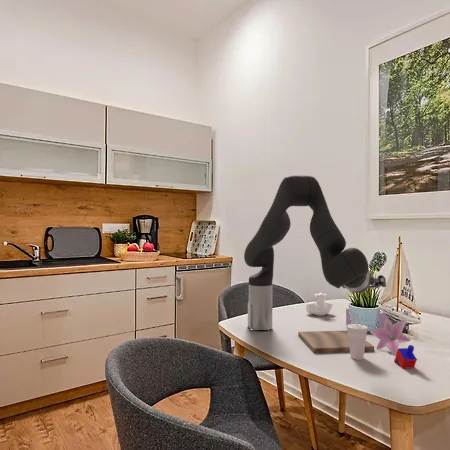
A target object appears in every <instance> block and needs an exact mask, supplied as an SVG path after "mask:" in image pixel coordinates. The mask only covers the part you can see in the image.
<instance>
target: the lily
mask: <svg viewBox="0 0 450 450" xmlns="http://www.w3.org/2000/svg"><path fill="white" fill-rule="evenodd" d="M406 322H407V320H406V319H405V320H404V319H402V320H400V322H397V323H395V324H394V325H392V324H391V323H390V322H389V320H387V319H386V320H385V323H384V328H376V329H372V330H370V331H369V332H370V333H371V334H372V336H374V337H375V338H377V339H379V342H378V344H377V347H376V350H377V351H379V350H381V349H384V348H386V347H387V349H388V350H389V352H390V353H391V354H392V355H393V356H395V357H396V354H397V351H398V348H399V344H400V343H401V344H402V343H408V342H411V339H410V338H409V337H408V336H406V335H404V334H403V330H404V328H405V325H406Z"/></svg>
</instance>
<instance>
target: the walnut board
mask: <svg viewBox="0 0 450 450" xmlns="http://www.w3.org/2000/svg"><path fill="white" fill-rule="evenodd" d="M297 336H298V337H299V338H300V339H301V341H302V342H303V341H304V342H305V343H306V344H305V345H306V346H307V347H308V348H309V349H310V351H312V353H313V354H321V353H322V354H323V353H326V354H328V353H329V354H330V353H350V347H349V338H348V330H347V329H346V330H320V331H314V330H313V331H298V333H297ZM304 342H303V343H304ZM364 352H375V346H374V345H373V344H371V343H370V342H368V341H367V340H366V342H365V350H364Z"/></svg>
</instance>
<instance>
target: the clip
mask: <svg viewBox="0 0 450 450" xmlns="http://www.w3.org/2000/svg"><path fill="white" fill-rule="evenodd" d="M349 309H350V308H349V307H347V308H346V309H345V326H346V327H347V325H348V324H351V320H350V314H349ZM386 319H387V320H389V322H390V323H391V321H390V319H389V318H388V316H387V315H386V314H385V313H384V312H383V311H380V314H379V321H378V325H377V328H384V323H385V320H386ZM391 324H392V323H391Z"/></svg>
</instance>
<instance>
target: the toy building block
mask: <svg viewBox="0 0 450 450" xmlns="http://www.w3.org/2000/svg"><path fill="white" fill-rule="evenodd" d="M414 349H415V347H414V345H412V344H409V345H408V347H406V348H405V347H404V348H403V347H401V348H399V347H398V351H397V354H396V356H395V357H394V361H393V362H394V363H395V364H399V366H400V368H401V369H414V368H415V366H416V363H417V360H418V359H417V357H416V355H415V354H414Z"/></svg>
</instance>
